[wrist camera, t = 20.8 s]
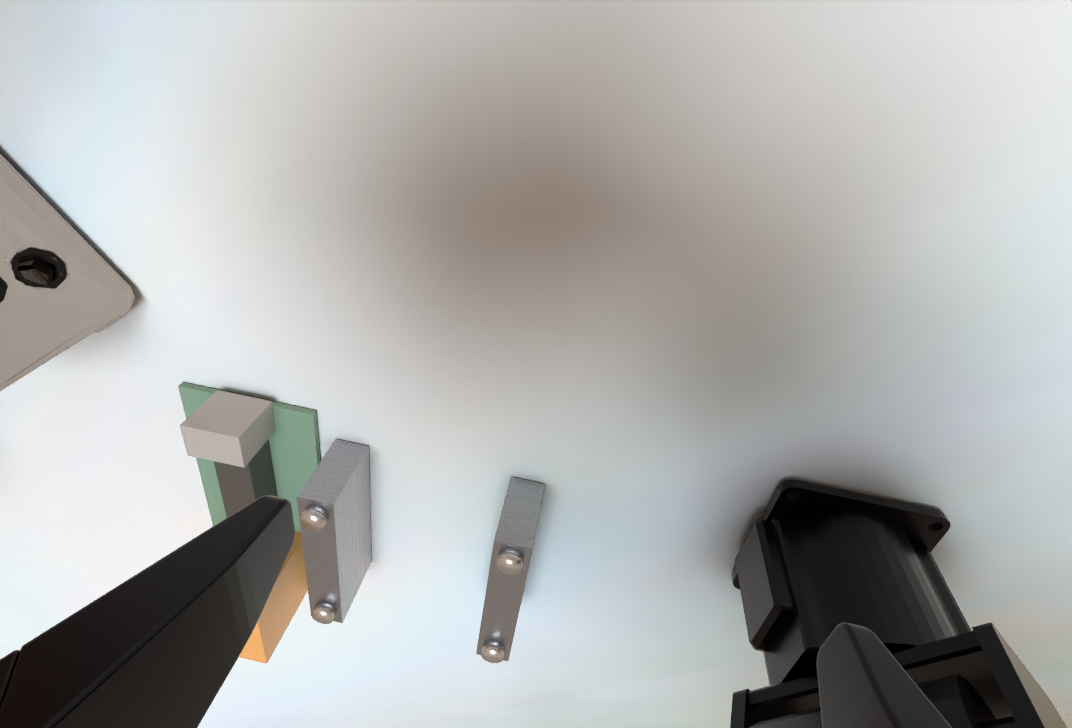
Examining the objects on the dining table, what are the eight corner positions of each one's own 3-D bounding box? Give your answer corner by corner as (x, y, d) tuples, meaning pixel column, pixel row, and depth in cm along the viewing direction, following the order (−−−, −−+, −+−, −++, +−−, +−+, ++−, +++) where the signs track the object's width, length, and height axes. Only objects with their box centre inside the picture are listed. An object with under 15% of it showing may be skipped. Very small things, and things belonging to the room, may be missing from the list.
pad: (316, 410, 25) (312, 414, 24) (331, 586, 31) (329, 591, 31) (183, 382, 25) (178, 385, 25) (227, 563, 32) (223, 567, 31)
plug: (199, 386, 24) (119, 457, 21) (289, 405, 24) (225, 479, 20) (241, 566, 31) (186, 644, 27) (311, 582, 31) (266, 663, 27)
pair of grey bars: (545, 484, 25) (530, 557, 22) (521, 594, 29) (506, 669, 26) (335, 438, 25) (291, 504, 22) (343, 554, 30) (307, 623, 26)
